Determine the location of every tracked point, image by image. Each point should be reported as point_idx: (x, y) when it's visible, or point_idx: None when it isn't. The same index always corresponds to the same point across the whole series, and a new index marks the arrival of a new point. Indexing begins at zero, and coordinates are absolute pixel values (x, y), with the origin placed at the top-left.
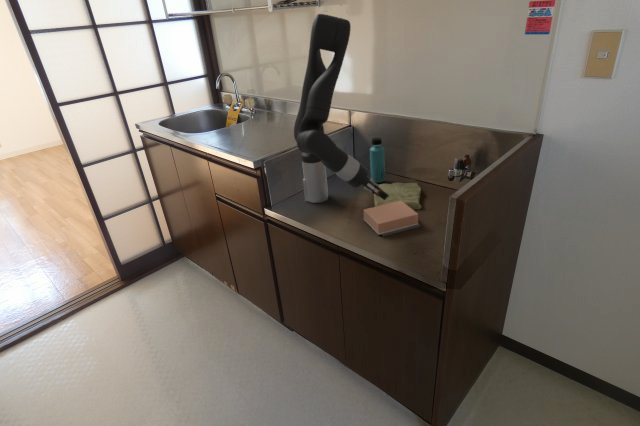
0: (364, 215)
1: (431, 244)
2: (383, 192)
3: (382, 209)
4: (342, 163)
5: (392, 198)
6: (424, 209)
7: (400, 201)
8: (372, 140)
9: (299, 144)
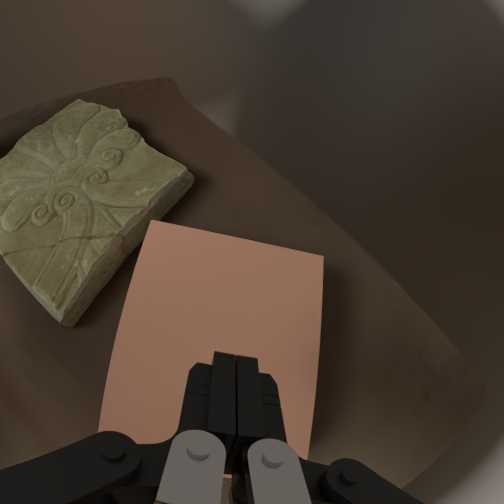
0: None
1: (411, 323)
2: (260, 411)
3: (165, 367)
4: None
5: (77, 218)
6: (206, 178)
7: (157, 228)
8: None
9: None
